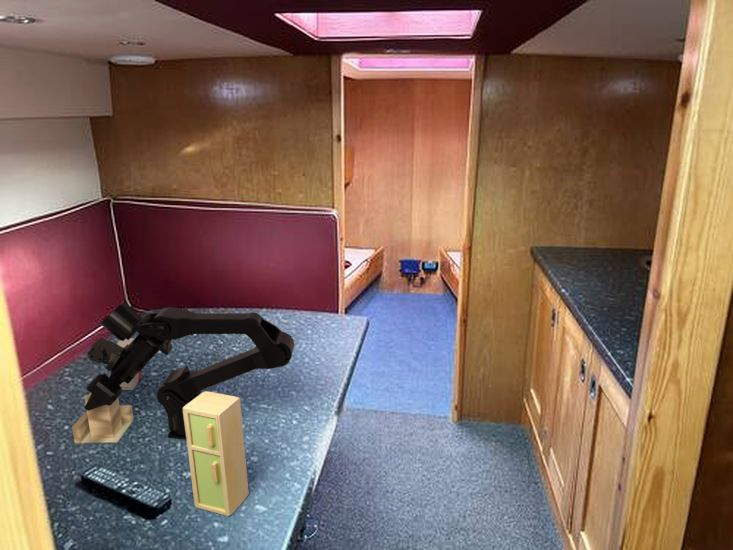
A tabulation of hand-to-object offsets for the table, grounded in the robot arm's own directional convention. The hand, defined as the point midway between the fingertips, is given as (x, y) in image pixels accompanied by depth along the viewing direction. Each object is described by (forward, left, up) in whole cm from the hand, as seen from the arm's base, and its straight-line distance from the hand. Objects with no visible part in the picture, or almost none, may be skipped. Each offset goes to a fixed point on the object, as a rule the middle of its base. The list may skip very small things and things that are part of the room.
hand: (95, 398), depth 126 cm
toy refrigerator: (-37, +18, -9) cm, 43 cm away
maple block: (-1, 0, -9) cm, 9 cm away
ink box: (+8, -24, -9) cm, 27 cm away
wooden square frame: (-1, -1, -9) cm, 9 cm away
